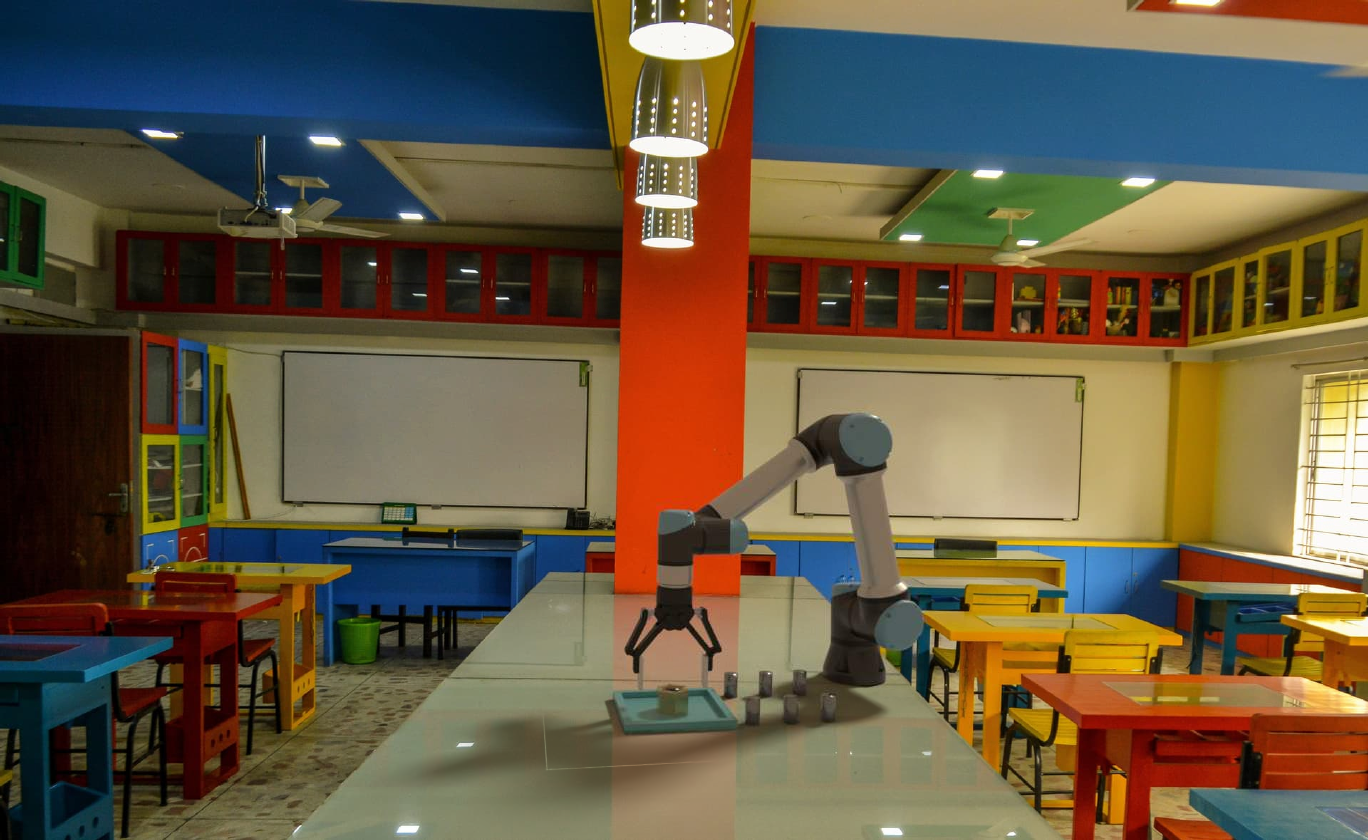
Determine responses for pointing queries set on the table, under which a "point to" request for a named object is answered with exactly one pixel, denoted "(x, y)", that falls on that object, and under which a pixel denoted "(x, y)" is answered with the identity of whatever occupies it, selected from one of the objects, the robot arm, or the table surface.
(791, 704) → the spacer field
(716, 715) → the tray
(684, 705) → the nut
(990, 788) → the table surface
